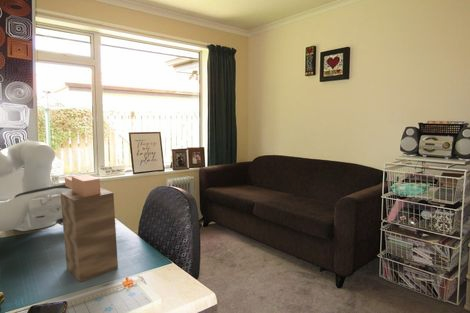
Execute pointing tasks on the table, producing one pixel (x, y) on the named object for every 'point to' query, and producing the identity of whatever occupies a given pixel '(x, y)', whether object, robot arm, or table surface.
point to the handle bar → (84, 185)
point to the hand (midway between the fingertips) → (63, 194)
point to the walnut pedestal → (89, 233)
